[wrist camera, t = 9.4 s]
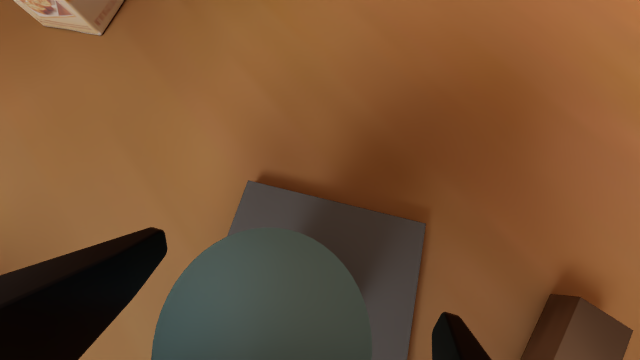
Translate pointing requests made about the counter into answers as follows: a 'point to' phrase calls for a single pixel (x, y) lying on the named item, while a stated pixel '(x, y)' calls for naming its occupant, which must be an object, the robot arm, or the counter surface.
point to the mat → (351, 253)
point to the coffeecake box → (73, 13)
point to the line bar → (576, 332)
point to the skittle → (264, 303)
